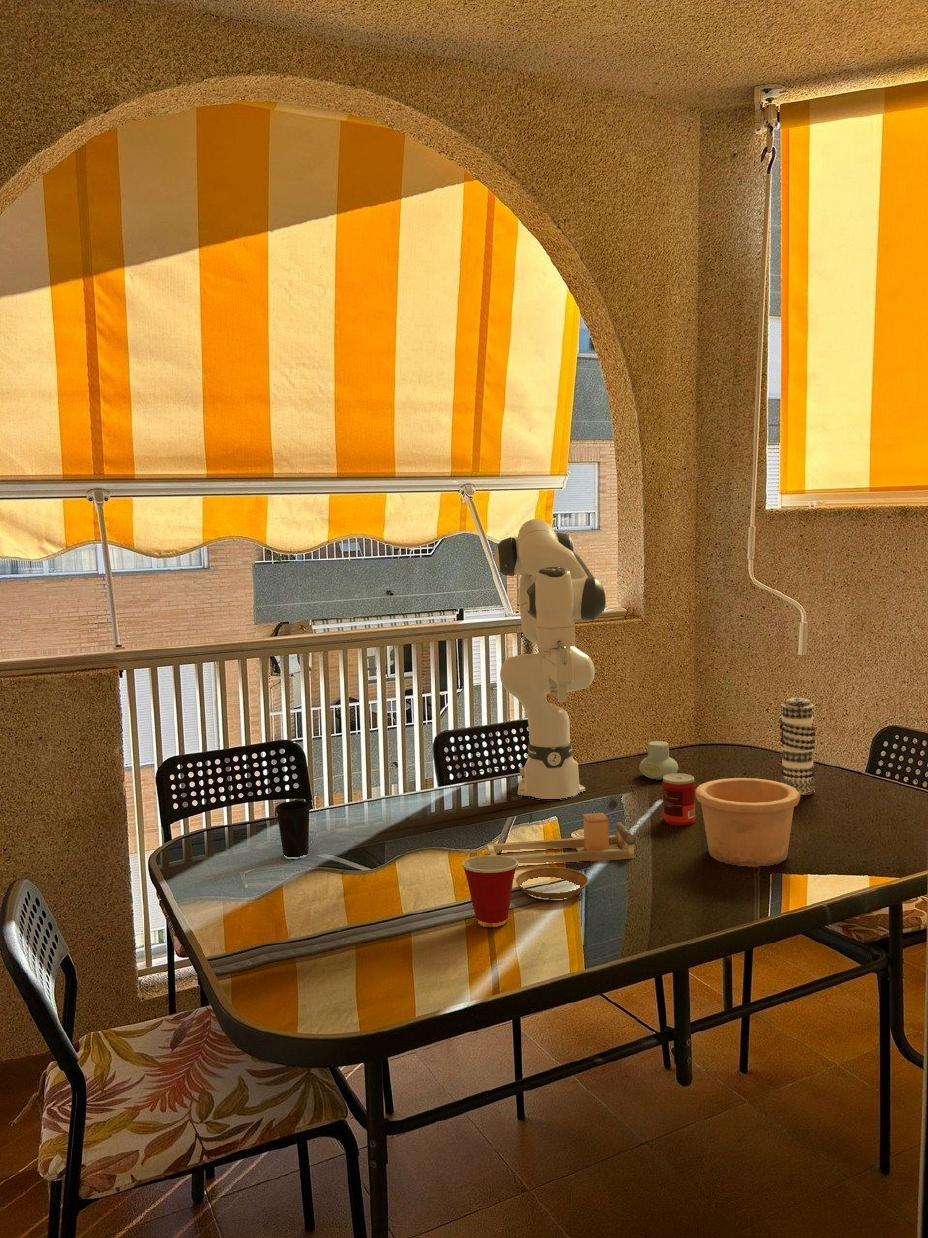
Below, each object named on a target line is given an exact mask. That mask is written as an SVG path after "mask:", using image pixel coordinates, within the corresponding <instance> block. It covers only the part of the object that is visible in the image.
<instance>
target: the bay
mask: <svg viewBox="0 0 928 1238" xmlns="http://www.w3.org/2000/svg"><path fill="white" fill-rule="evenodd" d="M614 828H615V830H616V834H612V835H611V834H609V849H607V850H594V851H586V850H585V849H584V836H583V837H569V838H568V837H567V838H558V839H545V840H531V841H518V842H517V841H516V842H504V843H491V844H487V845H486V848H487V850H488V853H489V855H497V854H496V852H495V851H501V850H520V849H554V848H572V849H575V850H576V851H570V852H557V853H555V852H554V853H542V854H531V855H530V854H529V855H518V856H511V857H512V858H515V859H516V860H518V863H546V862H552V863H553V862H577V863H580V862H579V861H591V862H600V861H604V862H605V861H612V860H613V861H614V860H626V859H627V860H628V859H635V843H636V842H637V841H636V838H635V837H634V835H633V834H632V833H631V832H630V830H628V828H627V827H626V826H625V825H624V824H623V822H621V821H618V822H616V823H615V824H614ZM488 853H487V854H488Z"/></svg>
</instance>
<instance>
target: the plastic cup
mask: <svg viewBox="0 0 928 1238" xmlns="http://www.w3.org/2000/svg"><path fill="white" fill-rule="evenodd" d="M512 857H513V856H507V855H501V854H496V855H488V854H484V855H477V856H472V857H467V858H465V859H464V860H462V861H461V867H462V868H463V870H464V874H465V876H466V877H465V878H466V881H467V884H468V891H469V895H470V899H471V904H472V908H473V912H474V917H475V919H476V918H477V919H478V920H480V921H482V922H486V923H499V922H502V921H504V920H506V919H507V918H509V910H510V906H511V898H512V890H513V886H514V885H513V884H514V879H515V874H516V869H517V868H518V867H517V866H518V860H516V859H515V858H512Z"/></svg>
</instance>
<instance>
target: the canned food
mask: <svg viewBox="0 0 928 1238" xmlns="http://www.w3.org/2000/svg"><path fill="white" fill-rule="evenodd" d="M695 783H696V782H695V776H694V775H691V774H688V773H683V772H682V773H681V772H680V773H679V772H677V773H674V774H668V775H665V776H663V780H662V808H663V809H662V811H663V820H664V822H665V823H666V824H669V825H671V826H680V827H681V826H682V827H683V826H689V825H692V824H694V822H695V820H696V796H695V790H696V787H695V786H696V785H695Z"/></svg>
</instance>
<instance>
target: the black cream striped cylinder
mask: <svg viewBox="0 0 928 1238" xmlns="http://www.w3.org/2000/svg"><path fill="white" fill-rule="evenodd" d="M781 706H782V715H781V718H779V721H778V723H779V727H778V728H779V730H781V732H779V736H780V739H779V741H780V742H781V745H780V746H781V747H780V748H781V750H782V761H781V762H782V763H781V765H780V768H781V769H782V770H781V772H780V774H781V775H782V776H781V777H780V782H781V783H784V784H787V785H789V786H791V787H794V788H795V789H796V790H797V791H798V792H799V793H800V794H804V793H808V792H811V791H812V790H815V788H816V784H815V783H816V780H815V778H814V777H815V772H814V771H815V769H816V768H815V766H814V759H813V751H815V749H816V746H815V745H814V744H815V743H816V740H814V739H813V737H816V733H815V732H814V731H816V728H817V727H815V726H814V725H813V723H814V722H815V719H814V716H813V707H814V704H813V703H811V701H810V700H809V699H808V698H805V697H789V698H786V700H785V701H784V703H781Z"/></svg>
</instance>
